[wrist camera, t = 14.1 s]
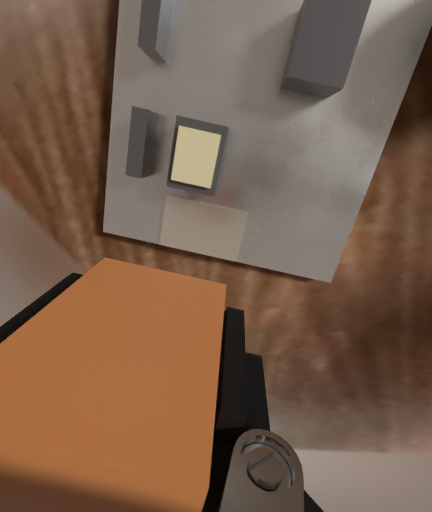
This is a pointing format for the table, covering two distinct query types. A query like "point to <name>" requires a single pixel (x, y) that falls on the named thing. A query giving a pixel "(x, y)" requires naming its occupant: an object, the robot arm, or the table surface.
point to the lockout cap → (113, 395)
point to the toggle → (324, 45)
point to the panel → (251, 128)
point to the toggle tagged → (197, 155)
